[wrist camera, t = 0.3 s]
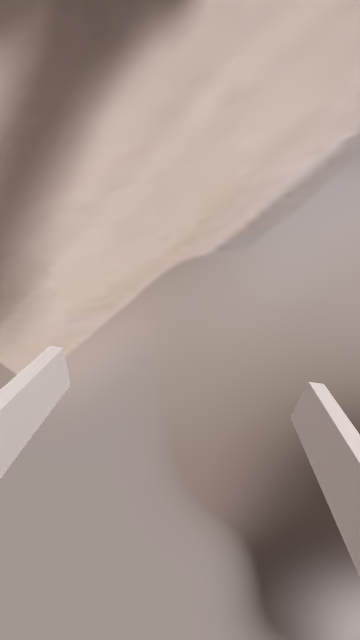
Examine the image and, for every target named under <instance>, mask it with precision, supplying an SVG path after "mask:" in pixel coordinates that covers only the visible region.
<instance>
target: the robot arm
mask: <svg viewBox="0 0 360 640" xmlns="http://www.w3.org/2000/svg"><path fill="white" fill-rule="evenodd" d="M69 387H70V380H69V375H68V370H67V364H66V359H65V354H64V349H63V348H61V347H53V346H49V347H48V348H47V349H46V350H45V351H43V352H42V353H41V354H40V355H39V356H38V357H37V358H36V359H34V360H33V361H32V362H31V363H30V364H29V365H28V366H26V367H25V368H24V369H23V370H22V371H21V372H20V373H19V374H17V375H16V376H15V377H14V378H13V379H12V380H11V381H10V382H9V383H7V384H6V385H5V386H4V387H3V388H2V389H1V390H0V479H1V477H2V476H3V475H4V473H5V472H6V470H7V469H8V468H9V467H10V465H11V464H12V463H13V461H14V460H15V459H16V457H17V456H18V455H19V453H20V452H21V451H22V449H23V448H24V447H25V445H26V444H27V443H28V441H29V440H30V439H31V437H32V436H33V435H34V433H35V432H36V431H37V429H38V428H39V427H40V425H41V424H42V423H43V421H44V420H45V419H46V417H47V416H48V415H49V413H50V412H51V411H52V409H53V408H54V407H55V405H56V404H57V403H58V401H59V400H60V399H61V397H62V396H63V395H64V393H65V392H66V391H67V389H68V388H69ZM291 420H292V422H293V424H294V426H295V429H296V431H297V433H298V436H299V438H300V440H301V443H302V445H303V447H304V450H305V452H306V454H307V457H308V459H309V461H310V463H311V466H312V468H313V470H314V472H315V475H316V477H317V480H318V482H319V484H320V486H321V489H322V491H323V493H324V496H325V498H326V500H327V503H328V505H329V507H330V510H331V512H332V514H333V517H334V519H335V521H336V523H337V526H338V528H339V530H340V533H341V535H342V537H343V540H344V542H345V544H346V546H347V549H348V551H349V554H350V556H351V558H352V560H353V563H354V564H355V567H356V569H357V572H358V574H359V576H360V435H359V433H358V432H357V431H356V429H355V428H354V426H353V425H352V423H351V422H350V421H349V419H348V418H347V416H346V415H345V413H344V412H343V411H342V410H341V408H340V406H339V405H338V404H337V402H336V401H335V399H334V398H333V397H332V395H331V394H330V392H329V391H328V390H327V388H326V387H325V385H324V384H320V383H312V382H309V383H308V384H307V386H306V388H305V390H304V392H303V394H302V396H301V398H300V400H299V402H298V404H297V406H296V408H295V410H294V411H293V413H292V415H291Z"/></svg>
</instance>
